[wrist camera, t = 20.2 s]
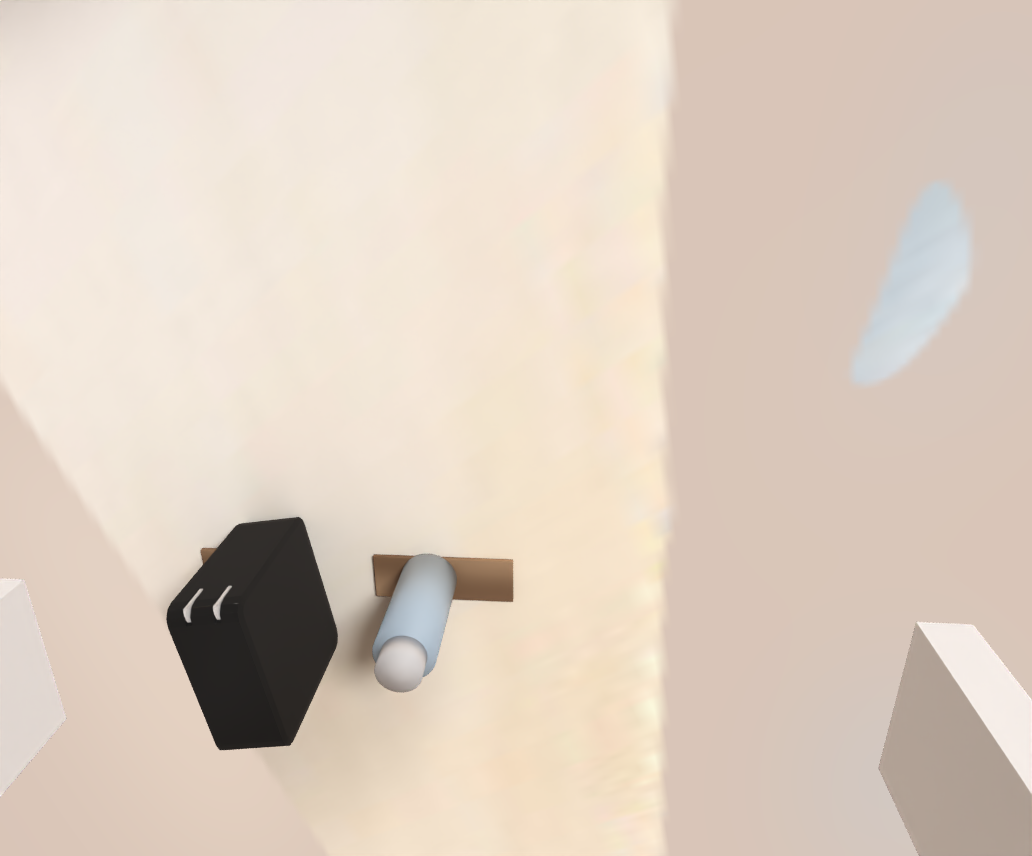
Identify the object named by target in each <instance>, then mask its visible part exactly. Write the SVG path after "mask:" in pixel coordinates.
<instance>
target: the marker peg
mask: <svg viewBox="0 0 1032 856" xmlns="http://www.w3.org/2000/svg"><path fill="white" fill-rule="evenodd" d="M456 583H457V576H456V572H455V570H454V568H453V567H452V565H451V564H450V563H449V562H448V561H446V560H445V559H444V558H442V557H440V556H437V555H433V554H421V555H417V556H414V557H413V558H411V559H410V560H408V561H407V563H406V564H405V565H404V567H403V570H402V572H401V575H400V578H399V580H398V583H397V585H396V588H395V590H394V593H393V595H392V598H391V601H390V603H389V606H388V608H387V611H386V613H385V616H384V619H383V621H382V624H381V626H380V629H379V631H378V634H377V637H376V639H375V642H374V644H373V649H372V653H373V658H374V660H375V663H376V665H375V669H374V672H375V676H376V679H377V680H378V682H379V683H380V684H381V685H382V686H384V687H385V688H387V689H389V690H391V691H394V692H408V691H411V690H413V689H415V688H416V687H418V685H419V684H420V683H421V680H422V677H424V676H426V675H428V674H429V673H430V672H431V671H432V670H433V668H434V666H435V664H436V660H437V656H438V652H439V649H440V645H441V641H442V637H443V633H444V630H445V626H446V622H447V618H448V614H449V610H450V607H451V603H452V599H453V595H454V591H455V587H456Z"/></svg>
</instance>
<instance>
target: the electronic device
mask: <svg viewBox="0 0 1032 856" xmlns="http://www.w3.org/2000/svg"><path fill="white" fill-rule="evenodd" d="M166 620H167V625H168V629H169V631H170V634H171V636H172V639H173V641H174V644H175V646H176V648H177V651H178V653H179V656H180V658H181V660H182V663H183V665H184V668H185V670H186V673H187V675H188V677H189V680H190V683H191V685H192V687H193V690H194V692H195V694H196V697H197V699H198V702H199V705H200V707H201V709H202V712H203V714H204V717H205V719H206V722H207V724H208V726H209V729H210V731H211V734H212V736H213V739H214V741H215V744H216V746H217V747H218V748H219V750H232V749H247V748H261V747H276V746H290V745H291V743H292V742H293V740H294V738H295V736H296V734H297V732H298V730H299V727H300V725H301V723H302V721H303V719H304V716H305V714H306V712H307V710H308V708H309V706H310V703H311V701H312V699H313V697H314V695H315V692H316V690H317V688H318V686H319V684H320V682H321V679H322V677H323V675H324V673H325V671H326V668H327V666H328V664H329V662H330V660H331V658H332V655H333V653H334V651H335V649H336V646H337V640H338V634H337V628H336V625H335V621H334V618H333V615H332V612H331V608H330V605H329V602H328V599H327V595H326V592H325V589H324V586H323V582H322V579H321V576H320V573H319V569H318V566H317V563H316V560H315V556H314V553H313V550H312V547H311V543H310V540H309V537H308V534H307V530H306V527H305V524H304V522H303V520H302V519H301V518H299V517H296V518H287V519H278V520H269V521H260V522H251V523H242V524H238V525H237V526H235V528H234V529H233V530H232V531H231V532H230V534H229V535H228V536H227V537H226V538H225V540H224V541H223V542H222V543H221V544H220V545H219V547H218V548H217V549H216V550H215V551H214V553H213V554H212V555H211V556H210V557H209V559H208V560H207V561H206V562H205V563H204V564H203V566H202V567H201V568H200V569H199V570H198V572H197V573H196V574H195V575H194V576H193V578H192V579H191V580H190V581H189V582H188V583H187V585H186V586H185V587H184V588H183V589H182V591H181V592H180V593H179V594H178V595H177V597H176V598H175V599H174V600H173V601H172V602H171V604H170V606H169V608H168V611H167V619H166Z"/></svg>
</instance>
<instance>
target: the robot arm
mask: <svg viewBox="0 0 1032 856" xmlns="http://www.w3.org/2000/svg"><path fill="white" fill-rule="evenodd" d="M65 720H66V715H65V712H64V709H63V705H62V702H61V699H60V696H59V692H58V689H57V686H56V682H55V679H54V676H53V672H52V669H51V666H50V662H49V659H48V656H47V653H46V649H45V646H44V643H43V640H42V636H41V633H40V629H39V626H38V623H37V620H36V616H35V613H34V610H33V607H32V603H31V600H30V597H29V593H28V590H27V587H26V583H25V580H24V579H4V578H0V797H1V796H2V795H3V793H4V792H5V791H6V790H7V789H8V787H9V786H10V785H11V784H12V783H13V781H14V780H15V779H16V778H17V777H18V776H19V774H20V773H21V772H22V771H23V770H24V769H25V767H26V766H27V765H28V764H29V763H30V761H31V760H32V759H33V758H34V757H35V756H36V754H37V753H38V752H39V751H40V749H41V748H42V747H43V746H44V745H45V744H46V743H47V741H48V740H49V739H50V737H52V735H53V734H54V733H55V732H56V731H57V730H58V728H59V727H60V726H61V725H62V724H63V722H64V721H65ZM879 771H880V773H881V775H882V777H883V779H884V781H885V783H886V786H887V788H888V790H889V792H890V794H891V796H892V799H893V801H894V803H895V805H896V807H897V809H898V812H899V814H900V816H901V818H902V820H903V822H904V825H905V827H906V829H907V831H908V833H909V835H910V838H911V840H912V842H913V844H914V846H915V848H916V851H917V853H918V855H919V856H1032V700H1031V698H1030V697H1029V696H1028V694H1027V693H1026V692H1025V691H1024V689H1023V688H1022V687H1021V685H1020V684H1019V683H1018V682H1017V680H1016V679H1015V678H1014V676H1013V675H1012V674H1011V673H1010V671H1009V670H1008V669H1007V668H1006V666H1005V665H1004V664H1003V662H1002V661H1001V660H1000V659H999V657H998V656H997V655H996V653H995V652H994V651H993V650H992V648H991V647H990V646H989V644H988V643H987V642H986V641H985V639H984V638H983V637H982V636H981V634H980V633H979V632H978V630H977V629H976V628H975V627H974V625H972V624H951V623H930V622H916V624H915V628H914V632H913V636H912V640H911V644H910V648H909V652H908V655H907V659H906V663H905V668H904V671H903V675H902V679H901V683H900V687H899V691H898V694H897V698H896V702H895V706H894V710H893V714H892V718H891V721H890V726H889V729H888V733H887V737H886V741H885V745H884V748H883V752H882V756H881V760H880V764H879Z"/></svg>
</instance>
